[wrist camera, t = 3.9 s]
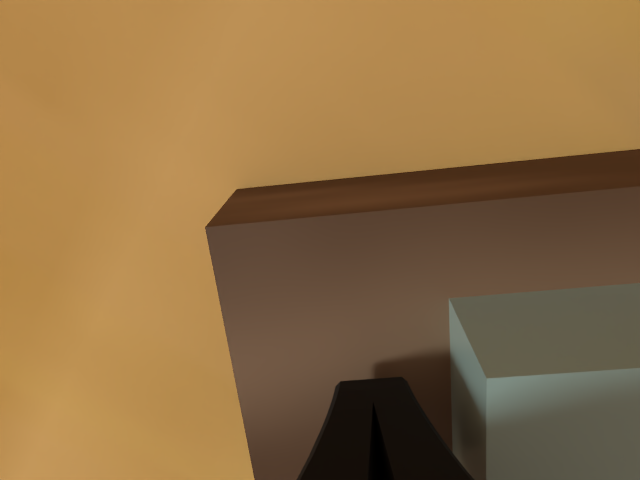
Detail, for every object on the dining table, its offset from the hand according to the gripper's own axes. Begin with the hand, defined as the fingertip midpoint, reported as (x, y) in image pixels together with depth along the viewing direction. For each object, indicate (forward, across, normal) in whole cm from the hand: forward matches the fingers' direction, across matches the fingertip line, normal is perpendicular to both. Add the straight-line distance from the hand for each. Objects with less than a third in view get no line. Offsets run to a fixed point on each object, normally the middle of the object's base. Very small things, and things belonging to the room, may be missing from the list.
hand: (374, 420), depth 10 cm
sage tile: (+1, -4, 0) cm, 4 cm away
